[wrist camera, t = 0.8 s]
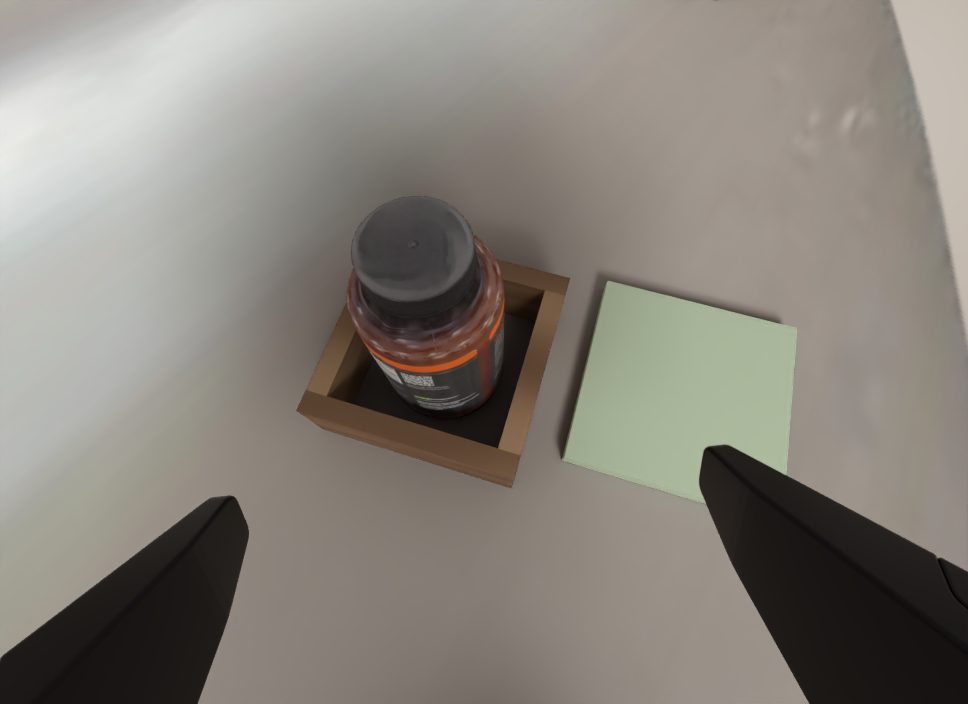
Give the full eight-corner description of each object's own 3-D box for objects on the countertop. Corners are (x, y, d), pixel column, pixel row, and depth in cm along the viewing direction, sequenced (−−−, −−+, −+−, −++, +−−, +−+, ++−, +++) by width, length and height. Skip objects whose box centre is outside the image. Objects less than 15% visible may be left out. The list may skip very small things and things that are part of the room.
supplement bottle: (478, 302, 27) (468, 148, 17) (520, 396, 25) (540, 288, 15) (376, 339, 26) (300, 202, 16) (411, 439, 24) (349, 357, 14)
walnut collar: (511, 488, 23) (514, 478, 20) (322, 428, 25) (296, 410, 21) (560, 310, 27) (570, 278, 24) (393, 266, 28) (380, 230, 25)
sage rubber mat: (770, 523, 22) (782, 522, 22) (561, 460, 24) (564, 456, 23) (786, 336, 26) (797, 328, 25) (603, 289, 27) (607, 280, 26)
